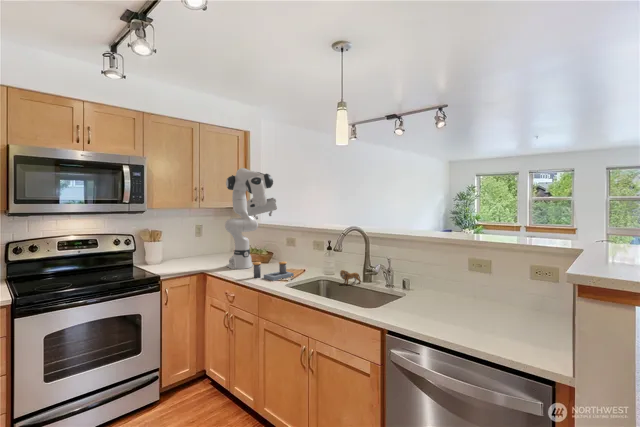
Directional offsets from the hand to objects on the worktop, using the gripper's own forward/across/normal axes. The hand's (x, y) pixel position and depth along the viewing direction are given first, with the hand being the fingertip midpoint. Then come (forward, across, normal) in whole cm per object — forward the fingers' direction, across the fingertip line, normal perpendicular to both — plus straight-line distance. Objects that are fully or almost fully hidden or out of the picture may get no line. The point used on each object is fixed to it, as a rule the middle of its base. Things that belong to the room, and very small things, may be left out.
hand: (263, 217), depth 229 cm
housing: (+31, 0, +29) cm, 43 cm away
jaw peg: (+31, +14, +24) cm, 41 cm away
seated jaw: (+33, -3, +28) cm, 43 cm away
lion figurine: (+24, -40, +59) cm, 75 cm away
